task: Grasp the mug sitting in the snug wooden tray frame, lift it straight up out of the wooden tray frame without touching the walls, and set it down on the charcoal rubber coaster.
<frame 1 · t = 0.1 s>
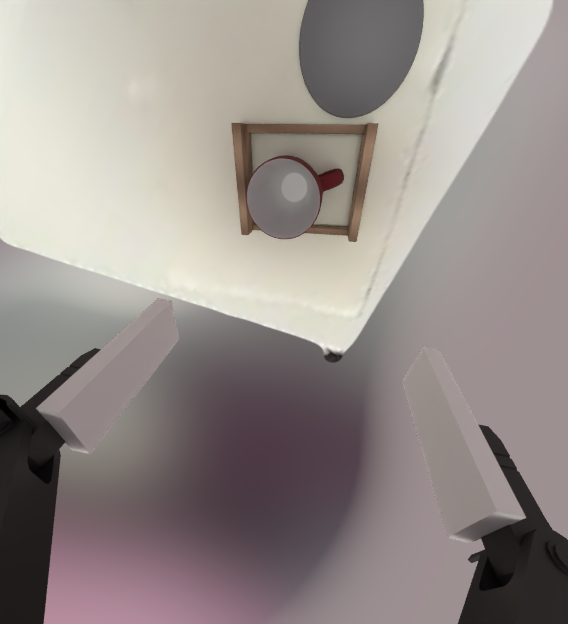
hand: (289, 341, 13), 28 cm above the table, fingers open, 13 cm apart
wooden tray frame: (302, 183, 33), on the table
coaster: (357, 43, 25), on the table
mug: (302, 182, 33), resting in wooden tray frame
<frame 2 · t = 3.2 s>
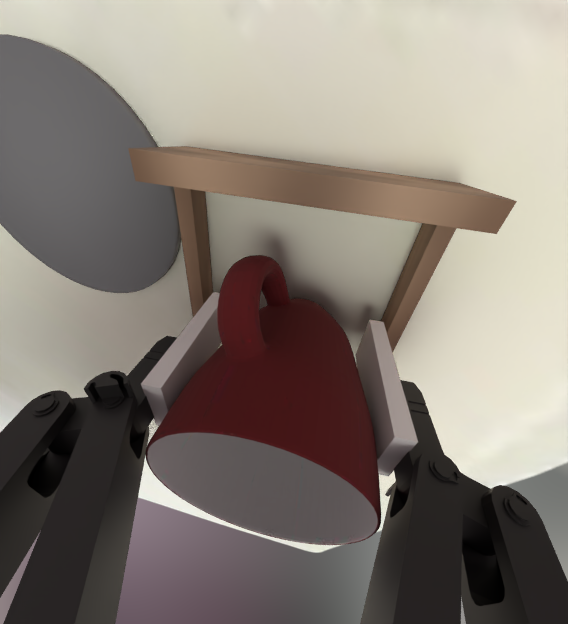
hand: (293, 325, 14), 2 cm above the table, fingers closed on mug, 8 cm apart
wooden tray frame: (294, 307, 16), on the table
coaster: (78, 195, 14), on the table
mug: (295, 306, 16), resting in wooden tray frame, touching gripper
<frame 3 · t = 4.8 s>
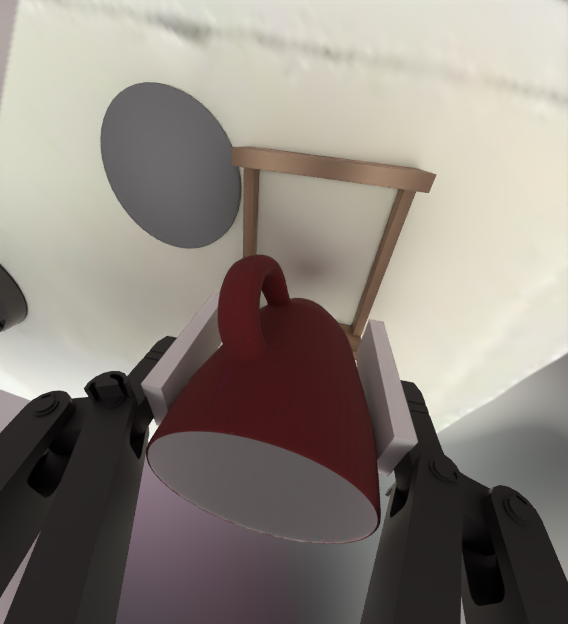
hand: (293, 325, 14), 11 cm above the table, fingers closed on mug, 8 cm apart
wooden tray frame: (313, 257, 23), on the table
coaster: (173, 178, 21), on the table
mug: (295, 306, 16), point 9 cm above the table, touching gripper
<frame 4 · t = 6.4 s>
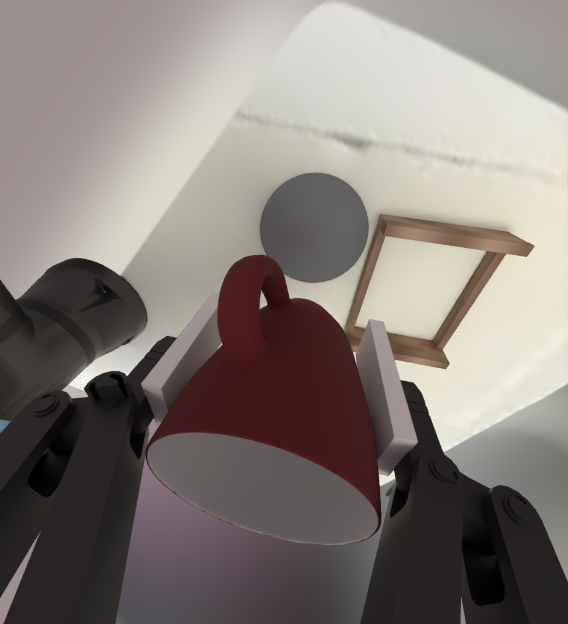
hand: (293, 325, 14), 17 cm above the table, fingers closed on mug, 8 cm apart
wooden tray frame: (411, 290, 30), on the table
coaster: (312, 233, 28), on the table
mug: (295, 306, 16), point 15 cm above the table, touching gripper
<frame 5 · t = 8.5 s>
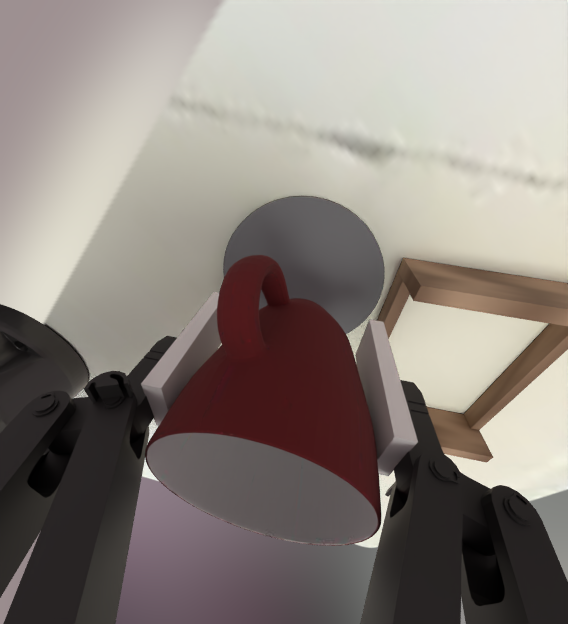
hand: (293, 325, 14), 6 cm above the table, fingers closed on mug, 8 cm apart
wooden tray frame: (441, 356, 21), on the table
coaster: (300, 280, 19), on the table
mug: (295, 306, 16), point 4 cm above the table, touching gripper
when the fingers open (4 cm above the table, at t = 9.8 s): mug drops 1 cm, resting on coaster.
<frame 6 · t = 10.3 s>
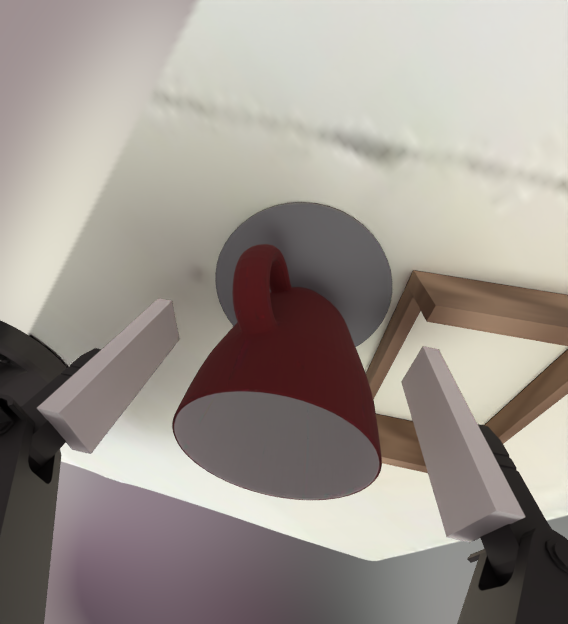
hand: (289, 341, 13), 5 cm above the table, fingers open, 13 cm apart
wooden tray frame: (452, 374, 19), on the table
coaster: (300, 293, 17), on the table
mug: (293, 295, 17), resting on coaster
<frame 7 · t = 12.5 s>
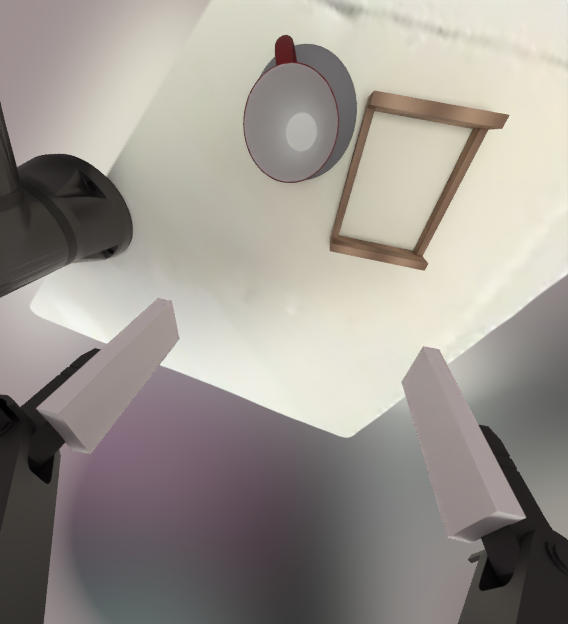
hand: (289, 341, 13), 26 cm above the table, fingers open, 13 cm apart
wooden tray frame: (395, 189, 31), on the table
coaster: (302, 120, 28), on the table
mug: (298, 120, 28), resting on coaster
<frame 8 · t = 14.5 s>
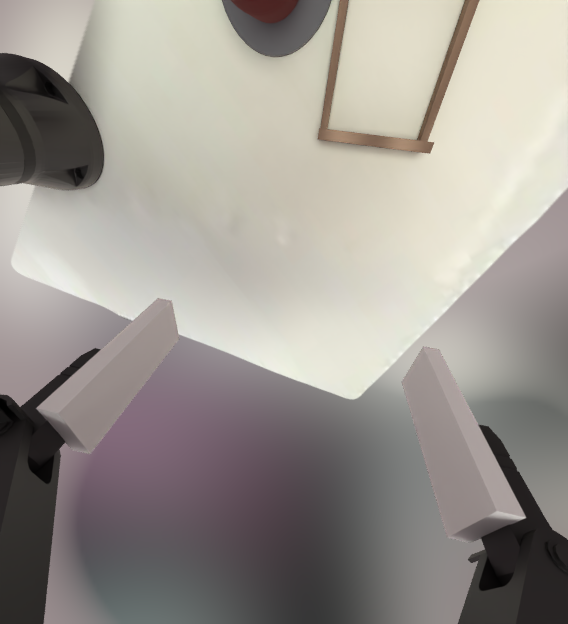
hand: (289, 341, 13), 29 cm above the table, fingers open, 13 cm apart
wooden tray frame: (391, 55, 26), on the table
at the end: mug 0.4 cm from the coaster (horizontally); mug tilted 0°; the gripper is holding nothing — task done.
